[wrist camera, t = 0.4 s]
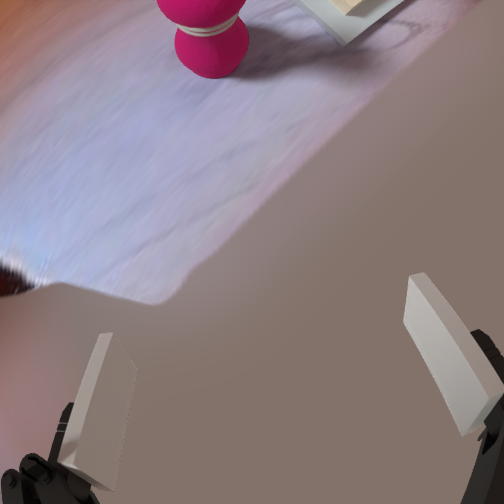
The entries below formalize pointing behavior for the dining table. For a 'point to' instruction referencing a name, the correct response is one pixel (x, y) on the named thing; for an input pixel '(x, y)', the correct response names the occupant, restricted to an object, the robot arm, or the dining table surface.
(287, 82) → the dining table surface
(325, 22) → the board
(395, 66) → the dining table surface
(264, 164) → the dining table surface
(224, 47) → the pepper mill
